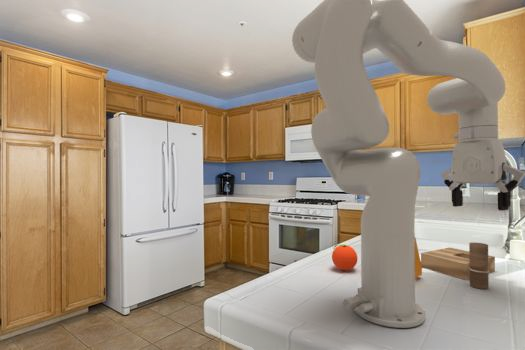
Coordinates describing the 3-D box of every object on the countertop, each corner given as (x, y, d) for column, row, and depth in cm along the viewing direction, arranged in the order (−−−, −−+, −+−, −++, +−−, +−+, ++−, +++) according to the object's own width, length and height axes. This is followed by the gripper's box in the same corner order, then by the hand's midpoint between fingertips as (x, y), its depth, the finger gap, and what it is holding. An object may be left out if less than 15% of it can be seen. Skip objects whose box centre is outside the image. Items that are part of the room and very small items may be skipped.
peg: (483, 290, 67) (483, 246, 67) (465, 285, 71) (465, 243, 71) (492, 287, 69) (492, 244, 69) (474, 282, 72) (474, 241, 72)
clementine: (324, 267, 85) (324, 242, 85) (341, 263, 88) (341, 240, 88) (344, 275, 78) (344, 248, 78) (363, 271, 82) (362, 245, 82)
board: (465, 279, 74) (465, 263, 74) (420, 267, 85) (420, 253, 85) (494, 271, 81) (494, 256, 81) (449, 260, 91) (449, 247, 91)
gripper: (432, 139, 76) (433, 205, 76) (514, 129, 61) (516, 213, 61) (449, 140, 79) (451, 204, 79) (531, 131, 64) (533, 210, 64)
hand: (479, 207), depth 70 cm, fingers open, 9 cm apart
